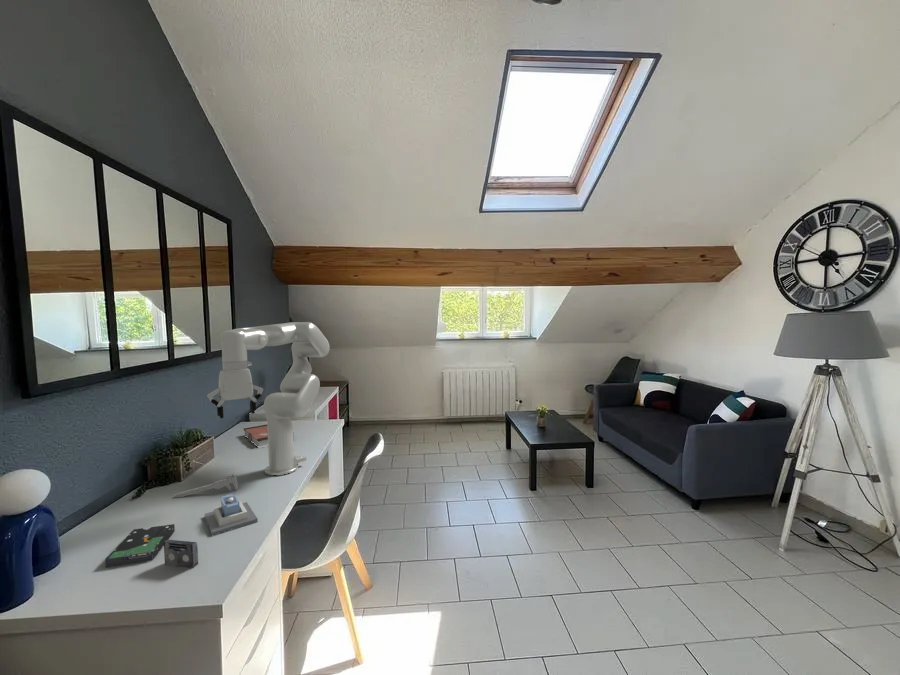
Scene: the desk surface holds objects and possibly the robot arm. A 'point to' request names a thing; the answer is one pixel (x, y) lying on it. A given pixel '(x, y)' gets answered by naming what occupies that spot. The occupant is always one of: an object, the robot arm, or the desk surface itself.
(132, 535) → the disk drive
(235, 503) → the servo block
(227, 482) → the caliper
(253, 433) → the book
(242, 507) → the plate
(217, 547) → the desk surface
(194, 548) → the mini dv tape
